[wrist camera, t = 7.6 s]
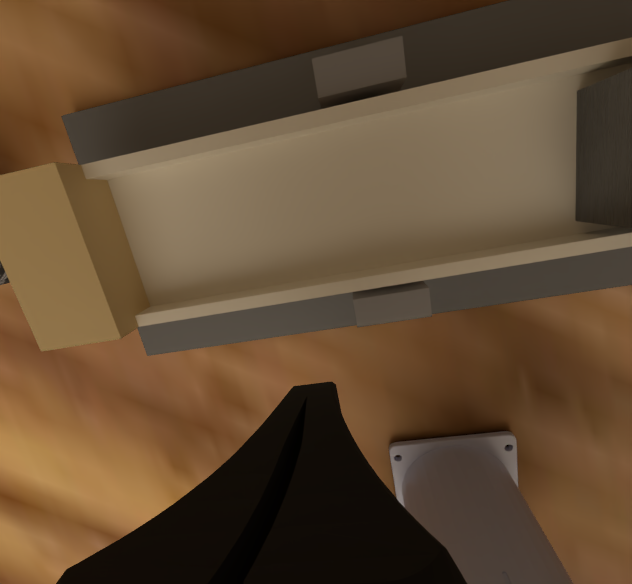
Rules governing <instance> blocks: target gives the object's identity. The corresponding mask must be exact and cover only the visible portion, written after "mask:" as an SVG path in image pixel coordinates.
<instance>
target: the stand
mask: <svg viewBox="0 0 632 584" xmlns="http://www.w3.org/2000/svg"><path fill="white" fill-rule="evenodd" d="M631 37H632V0H508V1H505V2H501V3H497V4H493V5H489V6H485V7H481V8H477V9H474V10H470V11H466V12H462V13H458V14H454V15H450V16H446V17H443V18H439V19H435V20H431V21H427V22H423V23H419V24H415V25H412V26H408V27H404V28H400V29H396V30H392V31H388V32H384V33H381V34H377V35H373V36H369V37H365V38H361V39H357V40H353V41H350V42H346V43H342V44H338V45H334V46H330V47H326V48H323V49H319V50H315V51H311V52H307V53H303V54H299V55H295V56H292V57H288V58H284V59H280V60H276V61H272V62H268V63H264V64H261V65H257V66H253V67H249V68H245V69H241V70H237V71H233V72H230V73H226V74H222V75H218V76H214V77H210V78H206V79H202V80H199V81H195V82H191V83H187V84H183V85H179V86H175V87H171V88H168V89H164V90H160V91H156V92H152V93H148V94H144V95H140V96H137V97H133V98H129V99H125V100H121V101H117V102H113V103H109V104H106V105H102V106H98V107H94V108H90V109H86V110H82V111H78V112H75V113H71V114H67V115H63V116H61V117H62V119H63V122H64V125H65V128H66V130H67V133H68V136H69V139H70V142H71V144H72V147H73V150H74V153H75V155H76V158H77V161H78V164H79V165H83V164H87V163H92V162H96V161H100V160H104V159H109V158H113V157H117V156H122V155H126V154H130V153H135V152H139V151H143V150H148V149H152V148H156V147H161V146H165V145H169V144H174V143H178V142H182V141H186V140H191V139H195V138H199V137H204V136H208V135H212V134H217V133H221V132H225V131H230V130H234V129H238V128H243V127H247V126H251V125H256V124H260V123H264V122H268V121H273V120H277V119H281V118H286V117H290V116H294V115H299V114H303V113H307V112H312V111H316V110H320V109H325V108H329V107H333V106H338V105H342V104H346V103H350V102H355V101H359V100H363V99H368V98H372V97H376V96H381V95H385V94H389V93H394V92H398V91H402V90H407V89H411V88H415V87H420V86H424V85H428V84H432V83H437V82H441V81H445V80H450V79H454V78H458V77H463V76H467V75H471V74H476V73H480V72H484V71H489V70H493V69H497V68H502V67H506V66H510V65H514V64H519V63H523V62H527V61H532V60H536V59H540V58H545V57H549V56H553V55H558V54H562V53H566V52H571V51H575V50H579V49H584V48H588V47H592V46H596V45H601V44H605V43H609V42H614V41H618V40H622V39H627V38H631ZM627 285H632V247H626V248H620V249H614V250H607V251H601V252H595V253H589V254H583V255H577V256H571V257H564V258H558V259H552V260H546V261H540V262H534V263H528V264H521V265H515V266H509V267H503V268H497V269H491V270H485V271H478V272H472V273H466V274H460V275H454V276H448V277H442V278H436V279H429V280H423V281H417V282H411V283H405V284H399V285H393V286H386V287H380V288H374V289H368V290H362V291H356V292H350V293H343V294H337V295H331V296H325V297H319V298H313V299H307V300H300V301H294V302H288V303H282V304H276V305H270V306H264V307H257V308H251V309H245V310H239V311H233V312H227V313H221V314H214V315H208V316H202V317H196V318H190V319H184V320H178V321H171V322H165V323H159V324H153V325H147V326H141V327H138V331H139V334H140V336H141V339H142V342H143V345H144V348H145V350H146V353H147V356H149V355H156V354H163V353H170V352H177V351H183V350H190V349H197V348H204V347H211V346H218V345H224V344H231V343H238V342H245V341H252V340H258V339H265V338H272V337H279V336H286V335H293V334H299V333H306V332H313V331H320V330H327V329H333V328H340V327H347V326H354V325H357V327H362V326H369V325H376V324H383V323H390V322H397V321H403V320H410V319H417V318H424V317H431V316H432V314H436V313H442V312H449V311H456V310H463V309H470V308H477V307H483V306H490V305H497V304H504V303H511V302H517V301H524V300H531V299H538V298H545V297H552V296H558V295H565V294H572V293H579V292H586V291H592V290H599V289H606V288H613V287H620V286H627Z"/></svg>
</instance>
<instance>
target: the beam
mask: <svg viewBox="0 0 632 584" xmlns="http://www.w3.org/2000/svg"><path fill="white" fill-rule="evenodd" d="M630 68H632V37H631V38H627V39H622V40H618V41H614V42H609V43H605V44H601V45H596V46H592V47H588V48H584V49H579V50H575V51H571V52H566V53H562V54H558V55H553V56H549V57H545V58H540V59H536V60H532V61H527V62H523V63H519V64H514V65H510V66H506V67H502V68H497V69H493V70H489V71H484V72H480V73H476V74H471V75H467V76H463V77H458V78H454V79H450V80H445V81H441V82H437V83H432V84H428V85H424V86H420V87H415V88H411V89H407V90H402V91H398V92H394V93H389V94H385V95H381V96H376V97H372V98H368V99H363V100H359V101H355V102H350V103H346V104H342V105H338V106H333V107H329V108H325V109H320V110H316V111H312V112H307V113H303V114H299V115H294V116H290V117H286V118H281V119H277V120H273V121H268V122H264V123H260V124H256V125H251V126H247V127H243V128H238V129H234V130H230V131H225V132H221V133H217V134H212V135H208V136H204V137H199V138H195V139H191V140H186V141H182V142H178V143H174V144H169V145H165V146H161V147H156V148H152V149H148V150H143V151H139V152H135V153H130V154H126V155H122V156H117V157H113V158H109V159H104V160H100V161H96V162H92V163H87V164H83V165H76V164H66V163H56V162H54V163H50V164H46V165H41V166H37V167H33V168H29V169H24V170H20V171H16V172H11V173H7V174H3V175H0V261H1V263H2V266H3V268H4V270H5V272H6V274H7V277H8V279H9V281H10V283H11V285H12V288H13V290H14V292H15V294H16V297H17V299H18V301H19V303H20V305H21V308H22V310H23V312H24V314H25V317H26V319H27V321H28V323H29V325H30V328H31V330H32V332H33V334H34V337H35V339H36V341H37V343H38V345H39V348H40V350H41V351H47V350H53V349H60V348H66V347H72V346H78V345H85V344H91V343H97V342H104V341H110V340H116V339H121V338H123V337H124V336H126V335H127V334H129V333H130V332H132V331H133V330H135V329H136V328H138V327H141V326H147V325H153V324H159V323H165V322H171V321H178V320H184V319H190V318H196V317H202V316H208V315H214V314H221V313H227V312H233V311H239V310H245V309H251V308H257V307H264V306H270V305H276V304H282V303H288V302H294V301H300V300H307V299H313V298H319V297H325V296H331V295H337V294H343V293H350V292H356V291H362V290H368V289H374V288H380V287H386V286H393V285H399V284H405V283H411V282H417V281H423V280H429V279H436V278H442V277H448V276H454V275H460V274H466V273H472V272H478V271H485V270H491V269H497V268H503V267H509V266H515V265H521V264H528V263H534V262H540V261H546V260H552V259H558V258H564V257H571V256H577V255H583V254H589V253H595V252H601V251H607V250H614V249H620V248H626V247H632V228H625V227H617V226H610V225H602V224H594V223H586V222H579V221H575V211H576V121H577V91H578V90H580V89H583V88H585V87H588V86H590V85H592V84H595V83H597V82H599V81H602V80H604V79H606V78H609V77H611V76H613V75H616V74H618V73H620V72H623V71H625V70H628V69H630Z"/></svg>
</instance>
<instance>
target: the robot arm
mask: <svg viewBox="0 0 632 584" xmlns="http://www.w3.org/2000/svg"><path fill="white" fill-rule="evenodd" d="M506 445H509V446H508V447H505V446H506ZM389 453H390V460H391V466H392V472H393V478H394V484H395V491H396V497H397V499H396V497H395V496H394V495H393V494H392V493H391V491H390V490H389V489H388V488H387V487H386V485H385V484H384V483H383V482H382V481H381V479H380V478H379V477H378V476H377V474H376V473H375V471H374V470H373V469H372V467H371V466H370V464H369V463H368V462H367V460H366V458H365V457H364V455H363V454H362V452H361V451H360V449H359V447H358V446H357V444H356V442H355V441H354V439H353V437H352V435H351V433H350V431H349V429H348V427H347V425H346V423H345V421H344V418H343V416H342V414H341V409H340V404H339V398H338V393H337V388H336V384H334V383H333V382H325V383H317V384H309V385H301V386H294V387H293V388H292V389H291V390H290V391H289V392H288V394H287V395H286V396H285V397H284V399H283V400H282V401H281V402H280V404H279V405H278V406H277V407H276V409H275V410H274V411H273V412H272V413H271V415H270V416H269V417H268V418H267V419H266V421H265V422H264V423H263V424H262V425H261V426H260V427H259V429H258V430H257V431H256V432H255V433H254V434H253V435H252V436H251V437H250V438H249V439H248V440H247V441H246V442H245V444H244V445H243V446H242V447H241V448H240V449H239V450H238V451H237V452H236V453H235V454H234V455H233V456H232V457H231V458H230V459H228V460H227V461H226V462H225V463H224V464H223V465H222V466H221V467H220V468H218V469H217V470H216V471H215V472H214V473H213V474H212V475H210V476H209V477H208V478H207V479H206V480H204V481H203V482H202V483H200V484H199V485H198V486H196V487H195V488H194V489H193V490H191V491H190V492H189V493H187V494H186V495H185V496H184V497H182V498H181V499H180V500H178V501H177V502H176V503H174V504H173V505H172V506H170V507H169V508H167V509H166V510H164V511H163V512H161V513H160V514H159V515H157V516H156V517H154V518H153V519H151V520H150V521H148V522H146V523H145V524H143V525H142V526H140V527H139V528H137V529H136V530H134V531H132V532H131V533H129V534H128V535H126V536H124V537H123V538H121V539H119V540H118V541H116V542H114V543H112V544H111V545H109V546H107V547H105V548H104V549H102V550H100V551H98V552H97V553H95V554H93V555H92V556H90V557H88V558H86V559H85V560H83V561H81V562H79V563H77V564H76V565H74V566H72V567H70V568H68V569H67V570H66V571H65V572H64V573H63V575H62V576H61V578H60V579H59V580H58V582H57V583H56V584H573V582H572V580H571V578H570V577H569V575H568V573H567V572H566V570H565V568H564V566H563V565H562V563H561V561H560V559H559V558H558V556H557V554H556V553H555V551H554V549H553V547H552V546H551V544H550V542H549V540H548V539H547V537H546V535H545V534H544V532H543V530H542V528H541V527H540V525H539V523H538V522H537V520H536V518H535V516H534V515H533V513H532V511H531V509H530V508H529V506H528V504H527V503H526V501H525V499H524V497H523V496H522V494H521V492H520V490H519V489H518V467H517V442H516V437H515V436H514V434H513V433H512V432H509V431H502V432H492V433H482V434H472V435H462V436H452V437H442V438H432V439H422V440H412V441H402V442H394V443H392V444H390V446H389ZM396 455H400V457H395V456H396Z"/></svg>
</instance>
